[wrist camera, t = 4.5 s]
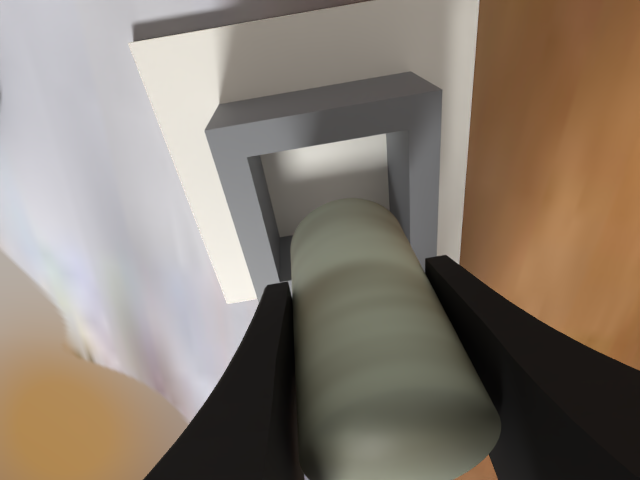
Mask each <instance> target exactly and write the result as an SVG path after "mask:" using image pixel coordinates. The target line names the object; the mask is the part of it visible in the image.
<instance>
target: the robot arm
mask: <svg viewBox="0 0 640 480" xmlns="http://www.w3.org/2000/svg"><path fill="white" fill-rule="evenodd" d="M425 274H426V276H427V278H428V280H429V282H430V284H431V285H432V287H433V289H434V291H435V293H436V295H437V297H438V299H439V301H440V303H441V305H442V307H443V308H444V310H445V312H446V314H447V316H448V318H449V320H450V322H451V324H452V326H453V328H454V330H455V332H456V333H457V335H458V337H459V339H460V341H461V343H462V345H463V347H464V349H465V351H466V353H467V355H468V357H469V358H470V360H471V362H472V364H473V366H474V368H475V370H476V372H477V374H478V376H479V378H480V380H481V381H482V383H483V385H484V387H485V389H486V391H487V393H488V395H489V397H490V399H491V401H492V403H493V405H494V406H495V408H496V410H497V412H498V414H499V416H500V420H501V433H500V436H499V439H498V441H497V443H496V445H495V447H494V448H493V449H492V451H491V452H490V453H489V456H490V459H491V461H492V464H493V467H494V469H495V472H496V475H497V478H498V480H640V371H639V370H637V369H634V368H632V367H630V366H627V365H625V364H623V363H621V362H619V361H617V360H615V359H612V358H610V357H608V356H606V355H604V354H602V353H599V352H597V351H595V350H593V349H591V348H589V347H587V346H585V345H583V344H581V343H579V342H578V341H576V340H574V339H572V338H570V337H568V336H566V335H565V334H563V333H561V332H559V331H557V330H555V329H553V328H552V327H550V326H548V325H547V324H545V323H543V322H541V321H540V320H538V319H536V318H535V317H533V316H532V315H530V314H529V313H527V312H525V311H524V310H522V309H521V308H519V307H517V306H516V305H514V304H513V303H511V302H510V301H508V300H507V299H505V298H504V297H503V296H501V295H500V294H498V293H497V292H495V291H494V290H493V289H491V288H490V287H488V286H487V285H486V284H484V283H483V282H481V281H480V280H479V279H477V278H476V277H475V276H473V275H472V274H471V273H470V272H468V271H467V270H466V269H464V268H463V267H462V266H460V265H459V264H458V263H456V262H455V261H454V260H452V259H451V258H450V257H448V256H447V255H442V256H436V257H430V258H425ZM143 480H309V479H308V478H307V477H306V476H305V474H304V473H303V471H302V469H301V467H300V464H299V454H298V429H297V404H296V379H295V354H294V328H293V302H292V296H291V292H290V287H289V283H288V281H287V282H281V283H275V284H270V285H267V286H266V287H265V289H264V291H263V294H262V297H261V300H260V302H259V305H258V307H257V310H256V312H255V314H254V316H253V319H252V321H251V323H250V325H249V327H248V329H247V331H246V333H245V336H244V338H243V340H242V342H241V344H240V346H239V347H238V349H237V351H236V353H235V355H234V356H233V358H232V360H231V362H230V364H229V365H228V367H227V369H226V371H225V372H224V374H223V376H222V377H221V379H220V380H219V382H218V384H217V385H216V387H215V388H214V390H213V391H212V393H211V394H210V396H209V397H208V399H207V400H206V402H205V403H204V405H203V406H202V407H201V409H200V410H199V411H198V413H197V414H196V416H195V417H194V418H193V420H192V421H191V422H190V424H189V425H188V427H187V428H186V429H185V430H184V432H183V433H182V434H181V436H180V437H179V438H178V439H177V441H176V442H175V443H174V444H173V445H172V447H171V448H170V449H169V450H168V452H167V453H166V454H165V455H164V456H163V457H162V458H161V460H160V461H159V462H158V463H157V464H156V465H155V467H154V468H153V469H152V470H151V471H150V472H149V474H148V475H147V476H146V477H145V478H144V479H143Z"/></svg>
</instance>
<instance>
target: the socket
mask: <svg viewBox="0 0 640 480" xmlns="http://www.w3.org/2000/svg"><path fill="white" fill-rule="evenodd" d="M478 13H479V0H372V1H366V2H360V3H354V4H349V5H343V6H337V7H331V8H325V9H320V10H314V11H308V12H302V13H297V14H291V15H285V16H279V17H273V18H268V19H262V20H256V21H250V22H244V23H239V24H233V25H227V26H221V27H215V28H210V29H204V30H198V31H192V32H186V33H181V34H175V35H169V36H163V37H158V38H152V39H146V40H140V41H134V42H131V43H128V45H129V47H130V50H131V53H132V55H133V58H134V60H135V63H136V66H137V68H138V71H139V74H140V76H141V79H142V82H143V84H144V87H145V89H146V92H147V95H148V97H149V100H150V103H151V105H152V108H153V110H154V113H155V116H156V118H157V121H158V124H159V126H160V129H161V131H162V134H163V137H164V139H165V142H166V145H167V147H168V150H169V152H170V155H171V158H172V160H173V163H174V166H175V168H176V171H177V173H178V176H179V179H180V181H181V184H182V187H183V189H184V192H185V194H186V197H187V200H188V202H189V205H190V208H191V210H192V213H193V216H194V218H195V221H196V223H197V226H198V229H199V231H200V234H201V237H202V239H203V242H204V244H205V247H206V250H207V252H208V255H209V258H210V260H211V263H212V265H213V268H214V271H215V273H216V276H217V279H218V281H219V284H220V286H221V289H222V292H223V294H224V297H225V300H226V302H227V304H231V303H236V302H242V301H248V300H254V299H258V302H260V300H261V297H262V294H263V291H264V289H265V287H266V286H267V285H270V284H275V283H281V282H287V281H288V283H289V287H290V292H291V296H292V279H291V254H290V247H291V241H292V237H293V234H294V232H295V230H296V228H297V227H298V225H299V224H300V222H301V221H302V220H303V219H304V218H305V217H306V216H307V215H308V214H309V213H310V212H312V211H313V210H315V209H316V208H318V207H320V206H322V205H323V204H326V203H328V202H331V201H335V200H339V199H346V198H359V199H365V200H370V201H373V202H375V203H378V204H380V205H382V206H383V207H385V208H386V209H388V210H389V211H390V212H391V213H392V214H393V215H394V216H395V218H396V219H397V220H398V222H399V224H400V226H401V228H402V230H403V232H404V234H405V236H406V237H407V239H408V241H409V243H410V245H411V247H412V249H413V251H414V253H415V255H416V257H417V259H418V260H419V262H420V264H421V266H422V268H423V270H424V272H425V258H430V257H436V256H442V255H447V256H448V257H450V258H451V259H452V260H454V261H455V262H456V263H458V264H459V260H460V247H461V234H462V221H463V208H464V195H465V182H466V169H467V156H468V143H469V130H470V117H471V104H472V91H473V78H474V65H475V52H476V39H477V26H478Z"/></svg>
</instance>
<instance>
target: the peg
mask: <svg viewBox="0 0 640 480" xmlns="http://www.w3.org/2000/svg"><path fill="white" fill-rule="evenodd" d="M290 254H291V279H292V302H293V328H294V354H295V379H296V404H297V429H298V454H299V464H300V467H301V469H302V471H303V473H304V474H305V476H306V477H307V478H308V479H309V480H453V479H455V478H457V477H459V476H461V475H462V474H464V473H466V472H468V471H469V470H471V469H472V468H473V467H475V466H476V465H477V464H479V463H480V462H481V461H482V460H483V459H484V458H485V457H486V456H487V455H488V454H489V453H490V452H491V451H492V449H493V448H494V447H495V445H496V443H497V441H498V439H499V436H500V433H501V420H500V416H499V414H498V412H497V410H496V408H495V406H494V405H493V403H492V401H491V399H490V397H489V395H488V393H487V391H486V389H485V387H484V385H483V383H482V381H481V380H480V378H479V376H478V374H477V372H476V370H475V368H474V366H473V364H472V362H471V360H470V358H469V357H468V355H467V353H466V351H465V349H464V347H463V345H462V343H461V341H460V339H459V337H458V335H457V333H456V332H455V330H454V328H453V326H452V324H451V322H450V320H449V318H448V316H447V314H446V312H445V310H444V308H443V307H442V305H441V303H440V301H439V299H438V297H437V295H436V293H435V291H434V289H433V287H432V285H431V284H430V282H429V280H428V278H427V276H426V274H425V272H424V270H423V268H422V266H421V264H420V262H419V260H418V259H417V257H416V255H415V253H414V251H413V249H412V247H411V245H410V243H409V241H408V239H407V237H406V236H405V234H404V232H403V230H402V228H401V226H400V224H399V222H398V220H397V219H396V218H395V216H394V215H393V214H392V213H391V212H390V211H389V210H388V209H386V208H385V207H383V206H382V205H380V204H378V203H375V202H373V201H370V200H365V199H359V198H346V199H339V200H335V201H331V202H328V203H326V204H323V205H322V206H320V207H318V208H316V209H315V210H313V211H312V212H310V213H309V214H308V215H307V216H306V217H305V218H304V219H303V220H302V221H301V222H300V224H299V225H298V227H297V228H296V230H295V232H294V234H293V237H292V241H291V247H290Z"/></svg>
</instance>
